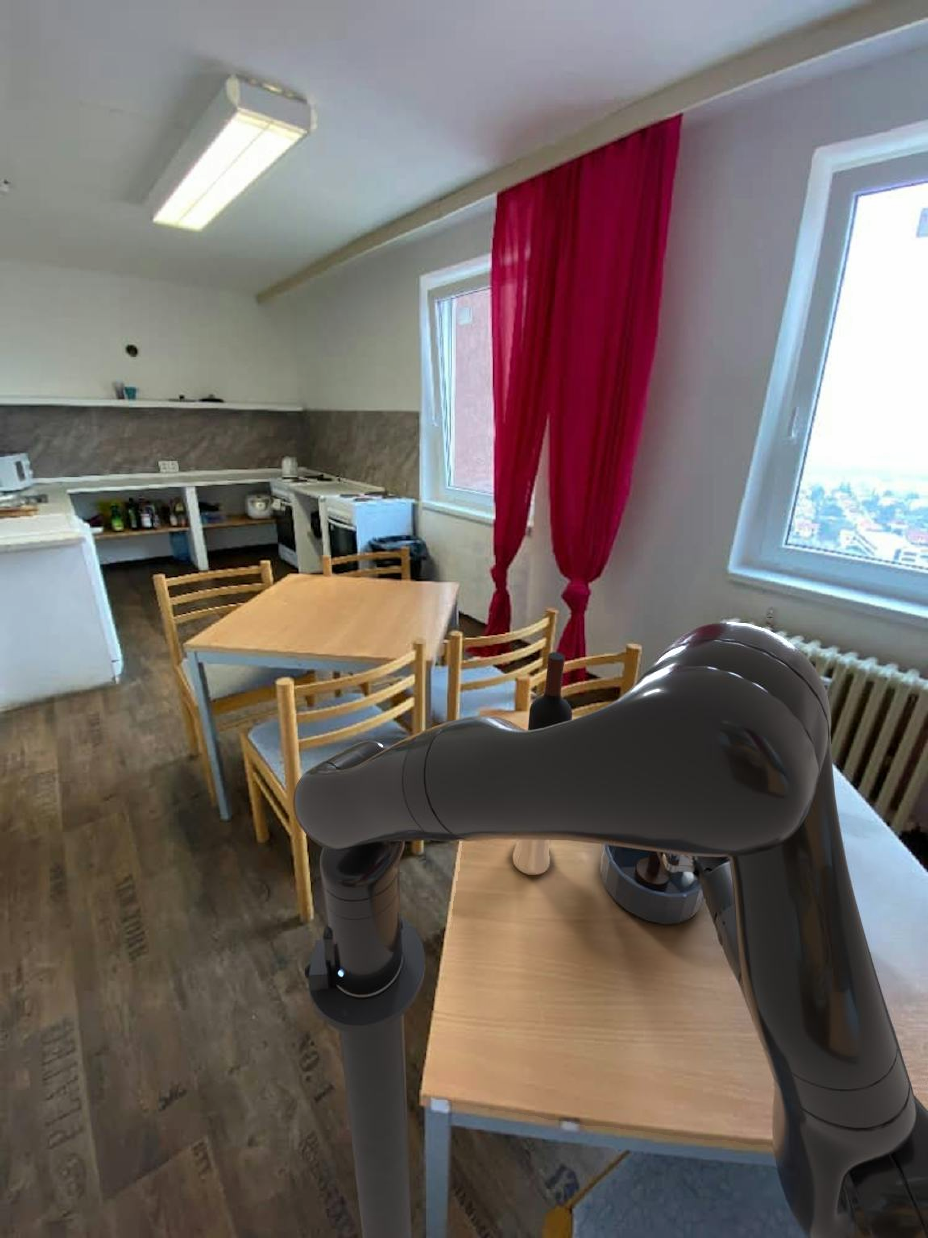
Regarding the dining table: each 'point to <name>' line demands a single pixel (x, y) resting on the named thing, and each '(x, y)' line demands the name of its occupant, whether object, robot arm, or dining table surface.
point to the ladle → (651, 873)
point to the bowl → (641, 901)
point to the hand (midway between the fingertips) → (704, 802)
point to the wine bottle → (550, 698)
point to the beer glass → (531, 856)
